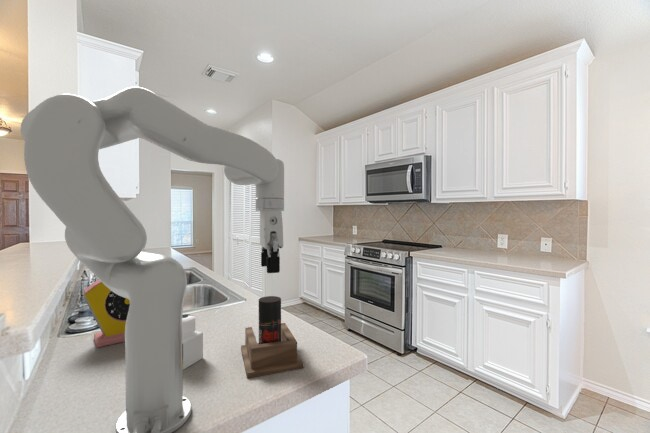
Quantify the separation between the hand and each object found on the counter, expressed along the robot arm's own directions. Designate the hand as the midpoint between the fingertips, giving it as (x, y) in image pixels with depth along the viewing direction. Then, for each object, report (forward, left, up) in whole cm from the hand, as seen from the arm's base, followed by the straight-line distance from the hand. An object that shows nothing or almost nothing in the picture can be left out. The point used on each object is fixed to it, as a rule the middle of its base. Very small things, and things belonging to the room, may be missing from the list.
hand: (269, 269), depth 83 cm
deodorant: (0, 0, -23) cm, 23 cm away
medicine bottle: (+6, +22, -24) cm, 33 cm away
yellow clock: (+30, +40, -24) cm, 56 cm away
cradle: (0, 0, -24) cm, 24 cm away
